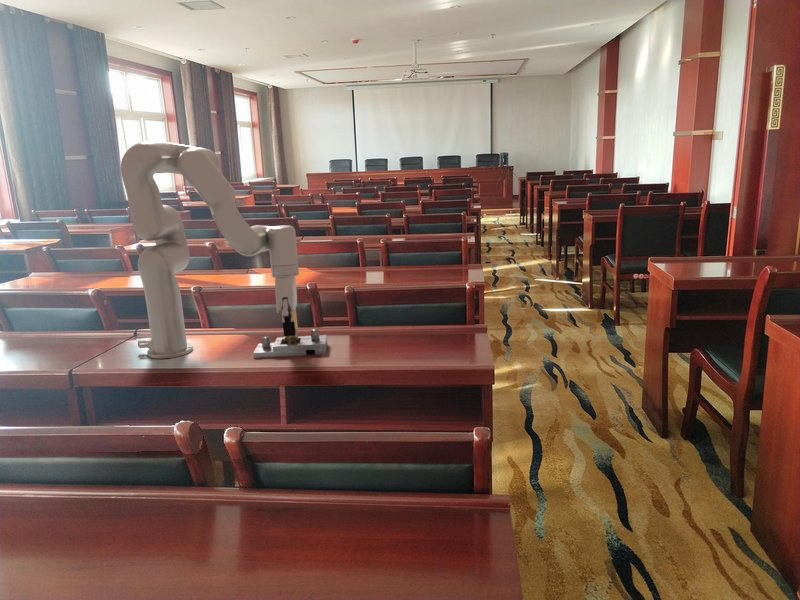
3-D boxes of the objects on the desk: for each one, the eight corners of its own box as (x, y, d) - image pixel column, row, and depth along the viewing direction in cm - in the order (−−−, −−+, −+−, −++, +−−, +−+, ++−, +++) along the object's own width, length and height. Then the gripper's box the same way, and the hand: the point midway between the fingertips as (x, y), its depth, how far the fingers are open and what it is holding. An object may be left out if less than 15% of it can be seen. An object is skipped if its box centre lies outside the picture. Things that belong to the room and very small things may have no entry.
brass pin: (283, 346, 171) (280, 312, 168) (285, 342, 175) (282, 308, 172) (298, 345, 171) (295, 311, 169) (299, 341, 175) (296, 307, 172)
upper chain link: (273, 357, 169) (271, 336, 167) (277, 347, 177) (276, 327, 176) (325, 354, 169) (324, 333, 168) (327, 344, 178) (325, 325, 177)
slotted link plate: (253, 358, 168) (252, 342, 167) (259, 348, 177) (257, 333, 176) (306, 355, 169) (304, 339, 168) (308, 345, 178) (307, 330, 177)
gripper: (275, 265, 176) (281, 326, 180) (266, 276, 160) (273, 342, 164) (301, 264, 176) (306, 324, 180) (295, 275, 160) (301, 341, 164)
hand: (290, 332), depth 172 cm, fingers closed on brass pin, 4 cm apart
